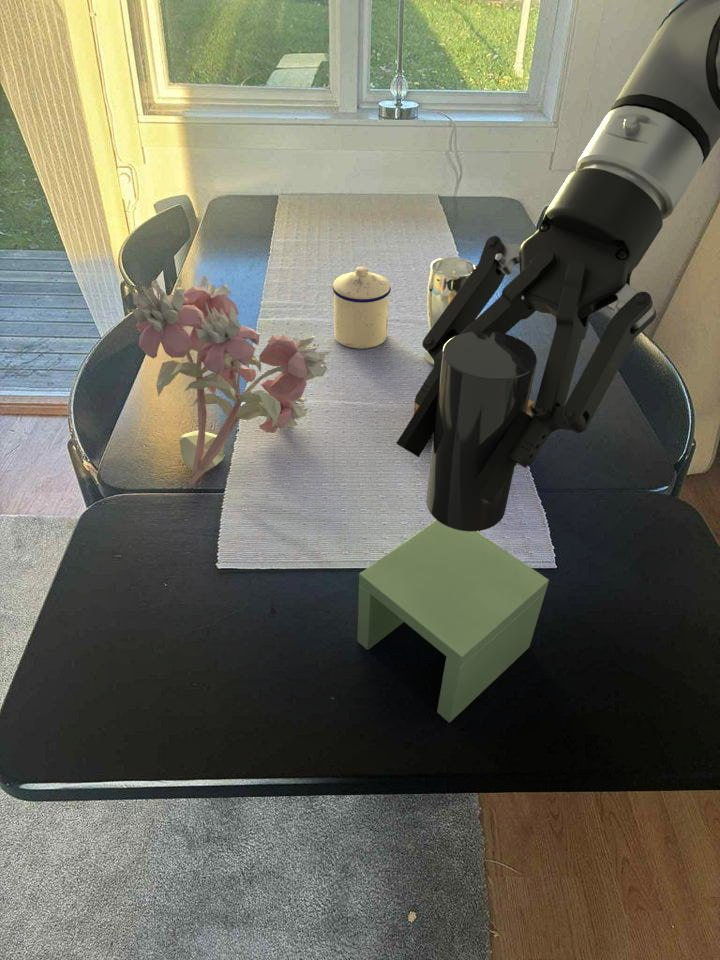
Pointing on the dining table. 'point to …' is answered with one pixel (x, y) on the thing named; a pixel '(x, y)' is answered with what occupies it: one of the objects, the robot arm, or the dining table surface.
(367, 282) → the teacup with lid
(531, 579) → the green step stool
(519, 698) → the dining table surface
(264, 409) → the flower
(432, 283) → the beer glass
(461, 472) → the dark grey cylinder
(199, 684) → the dining table surface
